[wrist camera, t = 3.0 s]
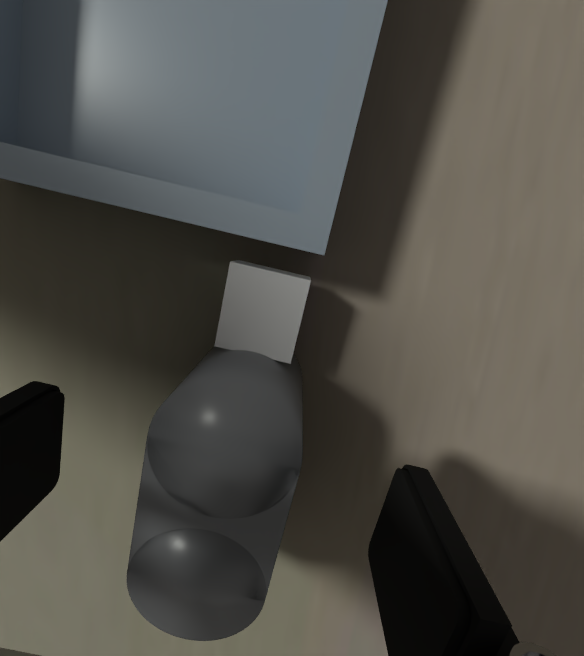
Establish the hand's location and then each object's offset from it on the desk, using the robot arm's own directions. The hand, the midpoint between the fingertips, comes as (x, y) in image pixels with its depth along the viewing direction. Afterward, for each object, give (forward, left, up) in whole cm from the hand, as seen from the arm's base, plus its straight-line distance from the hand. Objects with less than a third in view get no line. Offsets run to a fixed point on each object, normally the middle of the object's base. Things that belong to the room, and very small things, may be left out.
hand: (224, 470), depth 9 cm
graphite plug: (0, 0, -3) cm, 3 cm away
